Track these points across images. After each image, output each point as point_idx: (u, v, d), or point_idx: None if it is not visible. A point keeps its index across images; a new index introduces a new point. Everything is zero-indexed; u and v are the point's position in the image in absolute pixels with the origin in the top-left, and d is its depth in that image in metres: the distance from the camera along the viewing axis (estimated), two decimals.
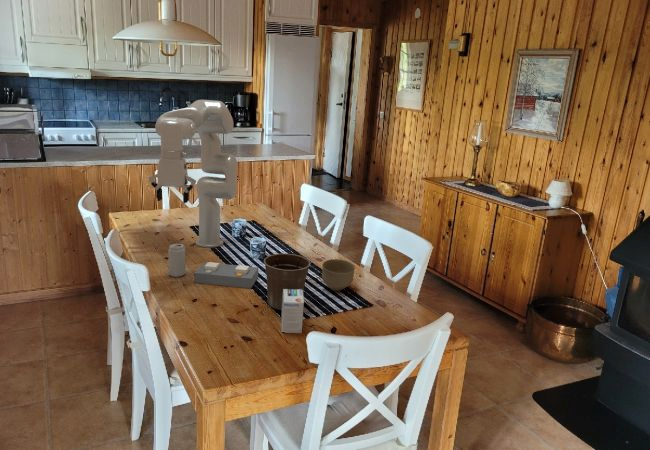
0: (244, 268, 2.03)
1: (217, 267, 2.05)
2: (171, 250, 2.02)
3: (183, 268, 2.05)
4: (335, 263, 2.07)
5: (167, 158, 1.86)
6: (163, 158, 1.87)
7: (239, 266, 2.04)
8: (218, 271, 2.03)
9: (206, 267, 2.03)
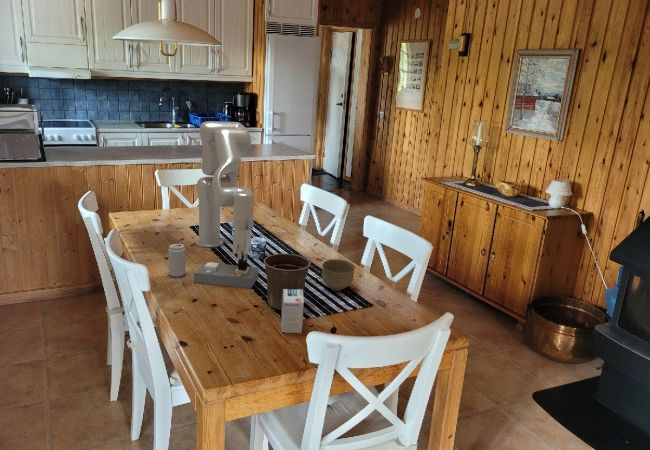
0: None
1: (217, 267, 2.05)
2: (171, 250, 2.02)
3: (183, 268, 2.05)
4: (335, 263, 2.07)
5: (252, 226, 1.98)
6: (250, 228, 1.97)
7: None
8: (218, 271, 2.03)
9: (206, 267, 2.03)
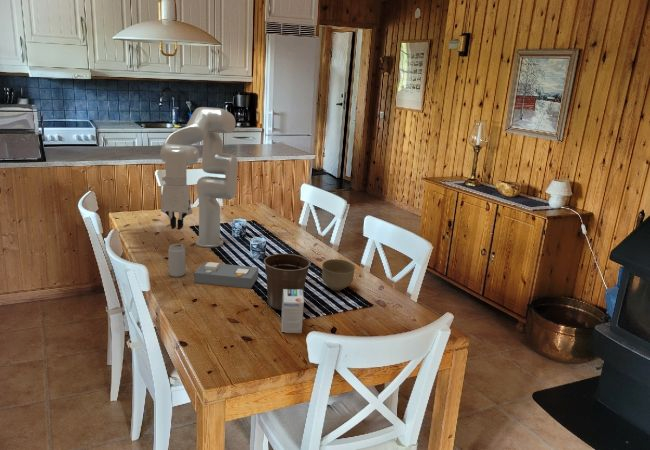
0: (244, 271, 2.03)
1: (217, 267, 2.05)
2: (171, 250, 2.02)
3: (183, 268, 2.05)
4: (335, 263, 2.07)
5: None
6: None
7: (239, 269, 2.05)
8: (218, 271, 2.03)
9: (206, 267, 2.03)
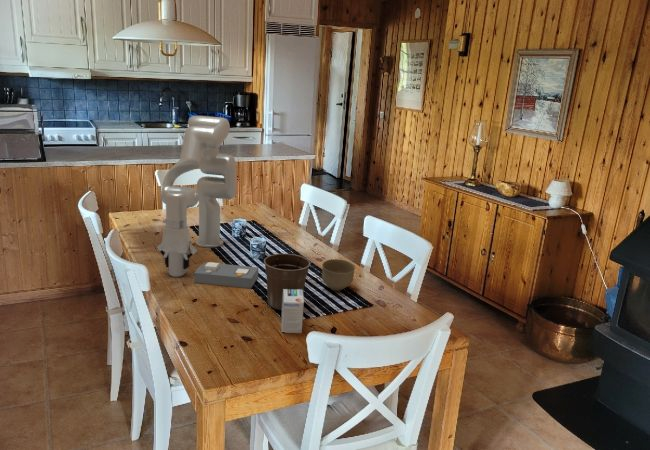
0: (244, 271, 2.03)
1: (217, 267, 2.05)
2: (171, 250, 2.02)
3: (183, 268, 2.05)
4: (335, 263, 2.07)
5: None
6: None
7: (239, 269, 2.05)
8: (218, 271, 2.03)
9: (206, 267, 2.03)
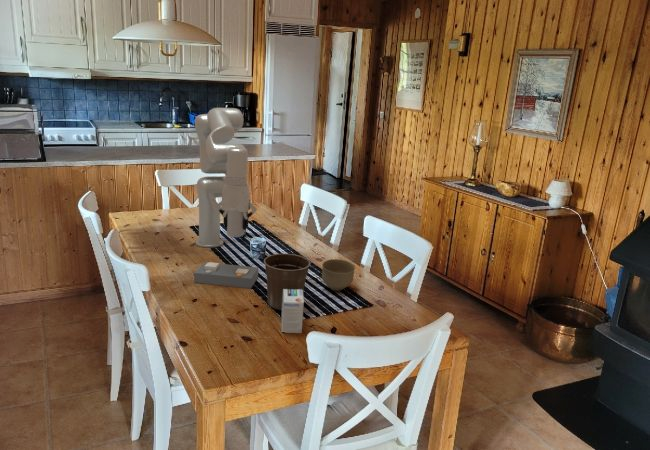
0: (244, 271, 2.03)
1: (217, 267, 2.05)
2: (231, 209, 1.94)
3: (242, 228, 1.98)
4: (335, 263, 2.07)
5: None
6: None
7: (239, 269, 2.05)
8: (218, 271, 2.03)
9: (206, 267, 2.03)
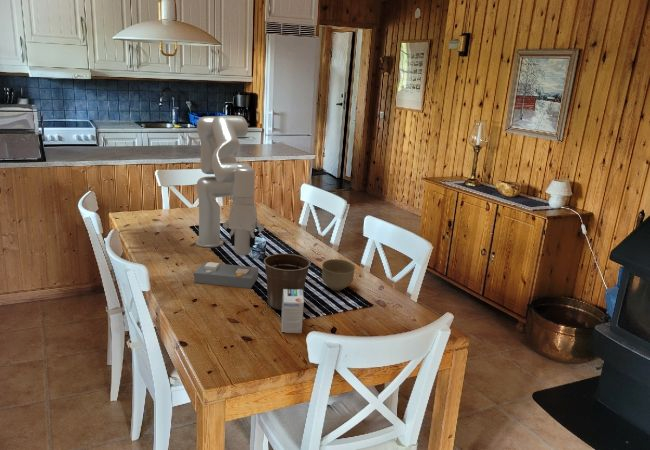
0: (244, 271, 2.03)
1: (217, 267, 2.05)
2: (238, 227, 1.96)
3: (249, 246, 2.00)
4: (335, 263, 2.07)
5: None
6: None
7: (239, 269, 2.05)
8: (218, 271, 2.03)
9: (206, 267, 2.03)
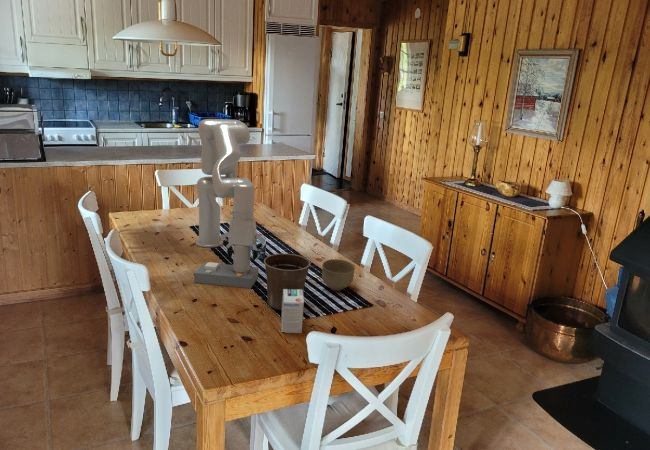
0: None
1: (217, 267, 2.05)
2: (237, 246, 1.98)
3: (248, 264, 2.02)
4: (335, 263, 2.07)
5: None
6: None
7: None
8: (218, 271, 2.03)
9: (206, 267, 2.03)
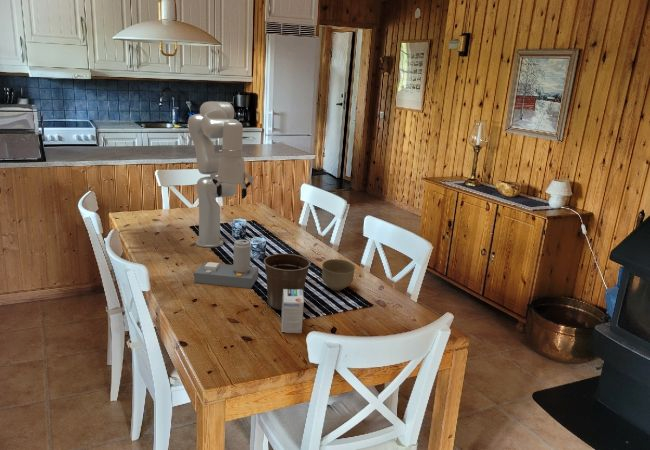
0: None
1: (217, 267, 2.05)
2: (237, 246, 1.98)
3: (248, 264, 2.02)
4: (335, 263, 2.07)
5: None
6: None
7: None
8: (218, 271, 2.03)
9: (206, 267, 2.03)
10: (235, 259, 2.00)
